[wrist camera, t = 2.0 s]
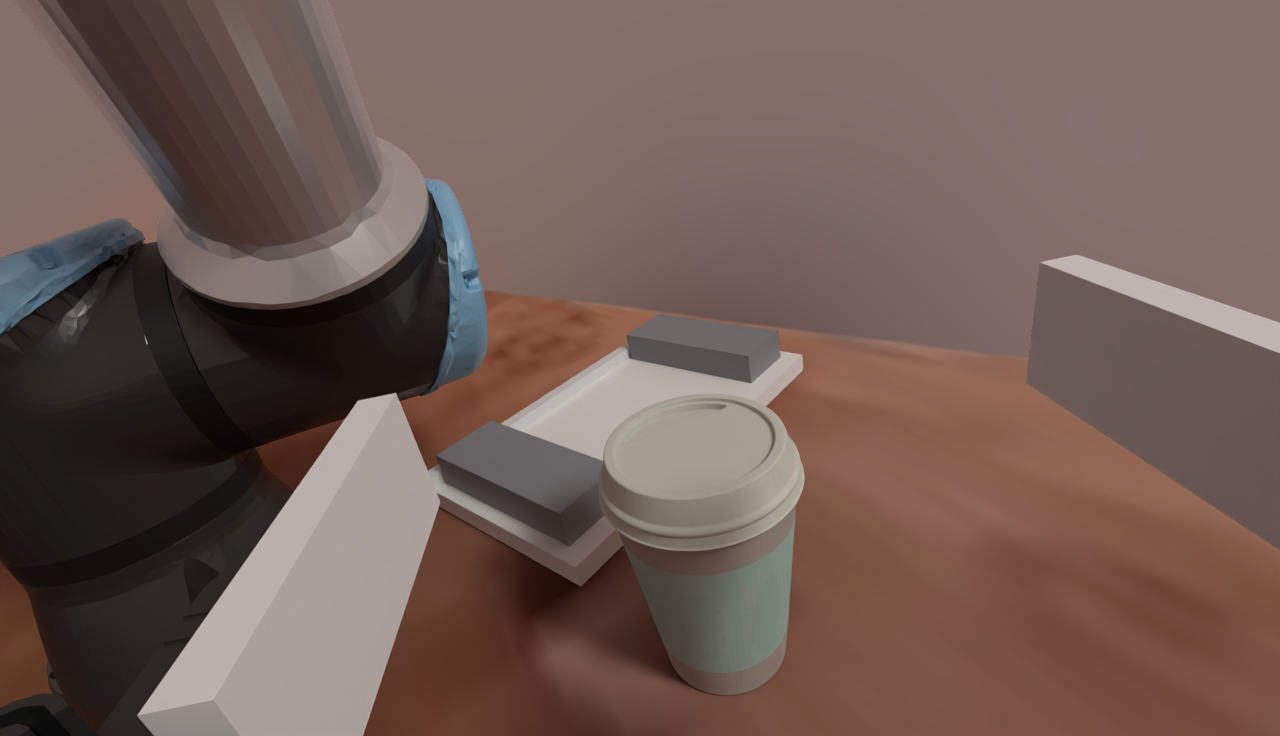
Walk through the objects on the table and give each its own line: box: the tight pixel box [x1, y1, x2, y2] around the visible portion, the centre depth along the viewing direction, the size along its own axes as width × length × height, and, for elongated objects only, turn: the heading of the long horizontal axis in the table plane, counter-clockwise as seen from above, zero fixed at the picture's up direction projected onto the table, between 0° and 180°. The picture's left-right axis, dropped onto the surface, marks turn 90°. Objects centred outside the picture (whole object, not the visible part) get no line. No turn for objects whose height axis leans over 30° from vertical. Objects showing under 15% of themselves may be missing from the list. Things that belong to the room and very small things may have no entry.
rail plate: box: [428, 314, 803, 586], centre depth 48 cm, size 28×16×4 cm, turn 140°
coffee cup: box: [598, 394, 804, 695], centre depth 27 cm, size 8×8×12 cm
